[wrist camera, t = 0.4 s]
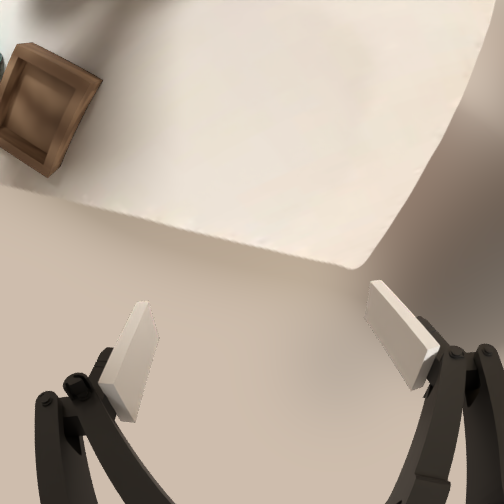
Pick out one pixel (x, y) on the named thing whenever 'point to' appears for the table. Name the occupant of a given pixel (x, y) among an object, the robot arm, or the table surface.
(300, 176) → the table surface
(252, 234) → the table surface
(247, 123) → the table surface
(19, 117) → the wooden tray
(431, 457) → the robot arm
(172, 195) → the table surface
